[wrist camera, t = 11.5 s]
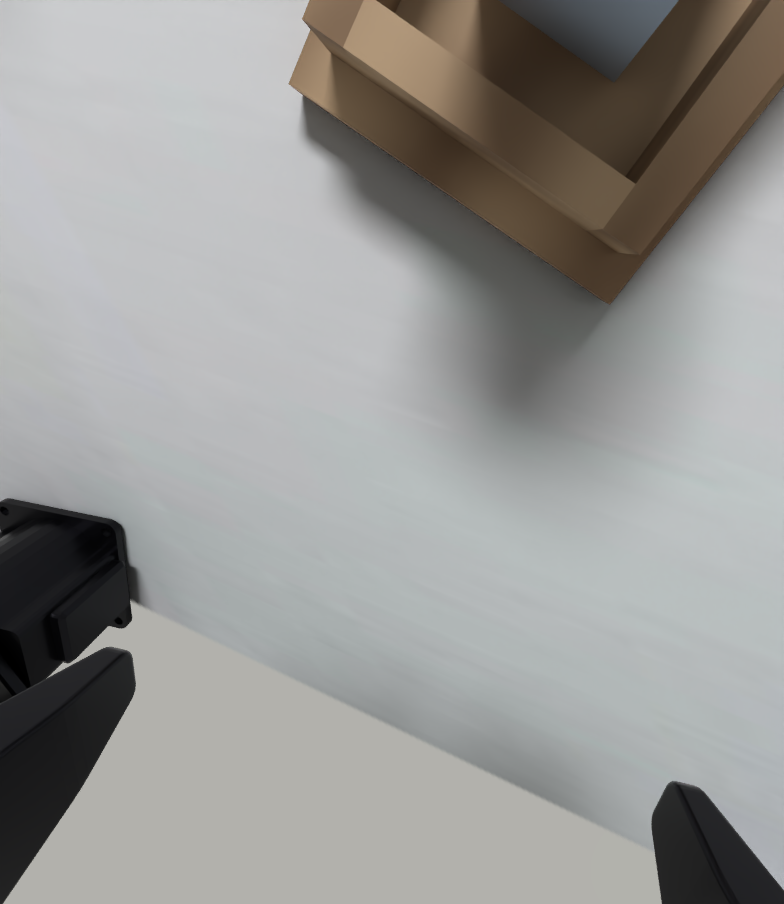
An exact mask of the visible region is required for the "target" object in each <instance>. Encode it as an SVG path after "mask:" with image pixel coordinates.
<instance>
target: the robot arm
mask: <svg viewBox="0 0 784 904" xmlns="http://www.w3.org/2000/svg"><path fill="white" fill-rule="evenodd" d="M108 529H109V530H110V531H109V530H108ZM0 530H1V532H0V904H3V903H4V901H5V900H6V898H7V897H8V895H9V894H10V892H11V891H12V890H13V888H14V887H15V885H16V884H17V882H18V881H19V879H20V878H21V876H22V875H23V873H24V872H25V870H26V869H27V868H28V866H29V865H30V863H31V862H32V860H33V859H34V857H35V856H36V854H37V853H38V852H39V850H40V849H41V847H42V846H43V844H44V843H45V841H46V840H47V838H48V837H49V835H50V834H51V832H52V831H53V830H54V828H55V827H56V825H57V824H58V822H59V821H60V819H61V818H62V816H63V815H64V813H65V812H66V810H67V809H68V808H69V806H70V804H71V803H72V802H73V800H74V799H75V797H76V796H77V794H78V792H79V791H80V789H81V788H82V786H83V784H84V783H85V781H86V779H87V778H88V776H89V774H90V772H91V771H92V769H93V767H94V765H95V763H96V762H97V760H98V758H99V757H100V755H101V753H102V751H103V749H104V748H105V746H106V744H107V742H108V740H109V739H110V737H111V735H112V733H113V732H114V730H115V728H116V726H117V724H118V723H119V721H120V719H121V717H122V716H123V714H124V712H125V710H126V709H127V707H128V705H129V703H130V701H131V699H132V697H133V695H134V692H135V686H136V682H135V675H134V666H133V658H132V655H131V653H130V652H129V651H127V650H123V649H118V648H114V647H106V648H103V649H101V650H99V651H97V652H95V653H94V654H92V655H90V656H88V657H86V658H84V659H82V660H80V661H79V662H77V663H75V664H73V665H71V666H69V667H67V668H65V669H64V670H62V671H60V672H58V673H56V674H54V675H53V676H51V677H49V678H47V677H48V676H49V675H51V674H52V672H53V671H55V670H56V668H58V667H59V666H60V665H61V664H62V663H63V662H64V663H70V662H72V661H73V660H75V659H76V658H77V657H78V656H79V655H80V654H81V653H82V652H83V651H84V650H85V649H86V648H87V647H88V646H89V645H90V644H91V643H92V642H93V641H94V640H95V639H96V638H97V637H98V636H99V635H100V634H101V633H102V632H103V631H104V630H105V629H106V628H107V626H112V627H116V628H125V627H126V626H127V625H128V624H129V623H130V622H131V621H132V614H131V605H130V597H129V589H128V581H127V573H126V565H125V556H124V548H123V540H122V532H121V528H120V526H119V524H118V523H117V522H116V521H114V520H112V519H107V518H103V517H98V516H93V515H88V514H83V513H78V512H73V511H68V510H63V509H59V508H54V507H49V506H44V505H39V504H34V503H29V502H24V501H19V500H14V499H8V498H6V499H5V500H3V501H1V502H0ZM46 678H47V679H46ZM652 835H653V842H654V849H655V857H656V863H657V871H658V878H659V886H660V893H661V900H662V904H784V890H783V889H782V888H781V886H780V885H779V884H778V883H777V881H776V880H775V879H774V878H773V876H772V875H771V874H770V873H769V872H768V870H767V869H766V868H765V867H764V865H763V864H762V863H761V862H760V860H759V859H758V858H757V857H756V855H755V854H754V853H753V852H752V850H751V849H750V848H749V847H748V845H747V844H746V843H745V842H744V841H743V839H742V838H741V837H740V836H739V834H738V833H737V832H736V831H735V829H734V828H733V827H732V826H731V824H730V823H729V822H728V821H727V819H726V818H725V817H724V816H723V814H722V813H721V812H720V811H719V810H718V808H717V807H716V806H715V805H714V803H713V802H712V801H711V800H710V798H709V797H708V796H707V795H706V794H705V792H704V791H702V790H701V789H700V788H698V787H696V786H694V785H689V784H685V783H681V782H677V781H672V782H670V783H668V785H667V786H666V788H665V790H664V792H663V794H662V796H661V798H660V800H659V802H658V804H657V806H656V808H655V809H654V812H653V815H652Z"/></svg>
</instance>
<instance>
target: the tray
mask: <svg viewBox="0 0 784 904" xmlns="http://www.w3.org/2000/svg"><path fill="white" fill-rule="evenodd" d="M302 19H303V21H304V22H305V23H306V24H307V25H308V27H309V28H310V29H311V30H310V33H309V35H308V37H307V40H306V42H305V45H304V47H303V50H302V52H301V55H300V57H299V59H298V62H297V64H296V67H295V69H294V72H293V74H292V77H291V79H290V82H289V85H291V86H292V87H293V88H295V89H296V90H297V91H298V92H300V93H301V94H302V95H304V96H305V97H307V98H308V99H309V100H311V101H312V102H314V103H315V104H317V105H318V106H320V107H321V108H323V109H324V110H325V111H327V112H328V113H330V114H331V115H333V116H334V117H336V118H337V119H339V120H340V121H342V122H343V123H344V124H346V125H347V126H349V127H350V128H352V129H353V130H355V131H356V132H358V133H359V134H360V135H362V136H363V137H365V138H366V139H368V140H369V141H371V142H372V143H374V144H375V145H376V146H378V147H379V148H381V149H382V150H384V151H385V152H387V153H388V154H390V155H391V156H392V157H394V158H395V159H397V160H398V161H400V162H401V163H403V164H404V165H406V166H407V167H408V168H410V169H411V170H413V171H414V172H416V173H417V174H419V175H420V176H422V177H423V178H425V179H426V180H427V181H429V182H430V183H432V184H433V185H435V186H436V187H438V188H439V189H441V190H442V191H443V192H445V193H446V194H448V195H449V196H451V197H452V198H454V199H455V200H457V201H458V202H459V203H461V204H462V205H464V206H465V207H467V208H468V209H470V210H471V211H473V212H474V213H475V214H477V215H478V216H480V217H481V218H483V219H484V220H486V221H487V222H489V223H490V224H491V225H493V226H494V227H496V228H497V229H499V230H500V231H502V232H503V233H505V234H506V235H508V236H509V237H510V238H512V239H513V240H515V241H516V242H518V243H519V244H521V245H522V246H524V247H525V248H526V249H528V250H529V251H531V252H532V253H534V254H535V255H537V256H538V257H540V258H541V259H542V260H544V261H545V262H547V263H548V264H550V265H551V266H553V267H554V268H556V269H557V270H558V271H560V272H561V273H563V274H564V275H566V276H567V277H569V278H570V279H572V280H573V281H575V282H576V283H577V284H579V285H580V286H582V287H583V288H585V289H586V290H588V291H589V292H591V293H592V294H593V295H595V296H596V297H598V298H599V299H601V300H602V301H604V302H606V303H608V304H611V302H612V301H613V300H614V299H615V297H616V296H617V295H618V294H619V292H620V291H621V290H622V289H623V287H624V286H625V285H626V284H627V282H628V281H629V280H630V278H631V277H632V276H633V275H634V273H635V272H636V271H637V270H638V268H639V267H640V266H641V265H642V263H643V262H644V261H645V260H646V258H647V257H648V256H649V255H650V253H651V252H652V251H653V249H654V248H655V247H656V246H657V244H658V243H659V242H660V241H661V239H662V238H663V237H664V236H665V234H666V233H667V232H668V231H669V229H670V228H671V227H672V226H673V224H674V223H675V222H676V220H677V219H678V218H679V217H680V215H681V214H682V213H683V212H684V210H685V209H686V208H687V207H688V205H689V204H690V203H691V202H692V200H693V199H694V198H695V197H696V195H697V194H698V193H699V191H700V190H701V189H702V188H703V186H704V185H705V184H706V183H707V181H708V180H709V179H710V178H711V176H712V175H713V174H714V173H715V171H716V170H717V169H718V168H719V166H720V165H721V164H722V163H723V161H724V160H725V159H726V157H727V156H728V155H729V154H730V152H731V151H732V150H733V149H734V147H735V146H736V145H737V144H738V142H739V141H740V140H741V139H742V137H743V136H744V135H745V134H746V132H747V131H748V130H749V128H750V127H751V126H752V125H753V123H754V122H755V121H756V120H757V118H758V117H759V116H760V115H761V113H762V112H763V111H764V110H765V108H766V107H767V106H768V105H769V103H770V102H771V101H772V99H773V98H774V97H775V96H776V94H777V93H778V92H779V91H780V89H781V88H782V87H783V86H784V0H679V1H678V2H677V3H676V4H675V6H674V7H673V8H672V10H671V11H670V12H669V13H668V15H667V16H666V17H665V18H664V20H663V21H662V22H661V24H660V25H659V26H658V27H657V29H656V30H655V31H654V32H653V34H652V35H651V36H650V38H649V39H648V40H647V41H646V43H645V44H644V45H643V46H642V48H641V49H640V50H639V52H638V53H637V54H636V55H635V57H634V58H633V59H632V60H631V62H630V63H629V64H628V66H627V67H626V68H625V69H624V71H623V72H622V73H621V74H620V76H619V77H618V78H617V80H616V81H615V82H612V81H611V80H609V79H608V78H607V77H605V76H604V75H602V74H601V73H600V72H598V71H597V70H595V69H594V68H593V67H591V66H590V65H588V64H587V63H586V62H584V61H583V60H581V59H580V58H579V57H577V56H576V55H574V54H573V53H572V52H570V51H569V50H567V49H566V48H565V47H563V46H562V45H560V44H559V43H558V42H556V41H555V40H553V39H552V38H551V37H549V36H548V35H546V34H545V33H544V32H542V31H541V30H539V29H538V28H537V27H535V26H534V25H532V24H531V23H530V22H528V21H527V20H525V19H524V18H523V17H521V16H520V15H518V14H517V13H516V12H514V11H513V10H511V9H510V8H509V7H507V6H506V5H504V4H503V3H502V2H500V1H499V0H310V1H309V3H308V6H307V8H306V11H305V13H304V16H303V18H302Z"/></svg>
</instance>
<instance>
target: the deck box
mask: <svg viewBox="0 0 784 904" xmlns="http://www.w3.org/2000/svg"><path fill="white" fill-rule="evenodd" d="M499 1H500V2H502V3H503V4H504V5H506V6H507V7H509V8H510V9H511V10H513V11H514V12H516V13H517V14H518V15H520V16H521V17H523V18H524V19H525V20H527V21H528V22H530V23H531V24H532V25H534V26H535V27H537V28H538V29H539V30H541V31H542V32H544V33H545V34H546V35H548V36H549V37H551V38H552V39H553V40H555V41H556V42H558V43H559V44H560V45H562V46H563V47H565V48H566V49H567V50H569V51H570V52H572V53H573V54H574V55H576V56H577V57H579V58H580V59H581V60H583V61H584V62H586V63H587V64H588V65H590V66H591V67H593V68H594V69H595V70H597V71H598V72H600V73H601V74H602V75H604V76H605V77H607V78H608V79H609V80H611V81H612V82H615V81H616V80H617V78H618V77H619V76H620V74H621V73H622V72H623V71H624V69H625V68H626V67H627V66H628V64H629V63H630V62H631V60H632V59H633V58H634V57H635V55H636V54H637V53H638V52H639V50H640V49H641V48H642V46H643V45H644V44H645V43H646V41H647V40H648V39H649V38H650V36H651V35H652V34H653V32H654V31H655V30H656V29H657V27H658V26H659V25H660V24H661V22H662V21H663V20H664V18H665V17H666V16H667V15H668V13H669V12H670V11H671V10H672V8H673V7H674V6H675V4H676V3H677V2H678V1H679V0H499Z"/></svg>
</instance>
